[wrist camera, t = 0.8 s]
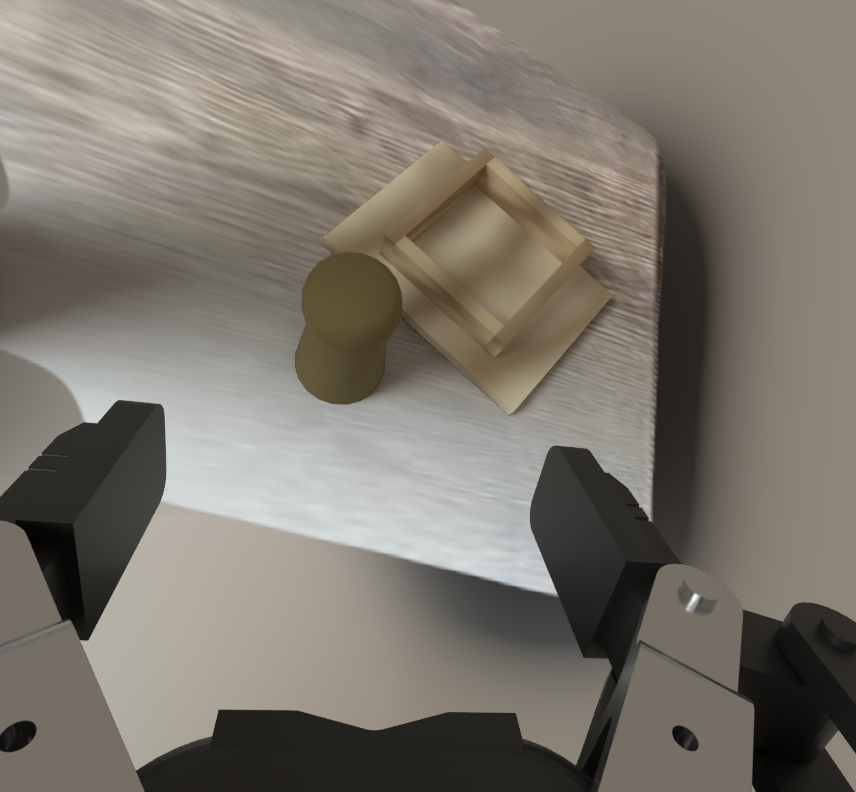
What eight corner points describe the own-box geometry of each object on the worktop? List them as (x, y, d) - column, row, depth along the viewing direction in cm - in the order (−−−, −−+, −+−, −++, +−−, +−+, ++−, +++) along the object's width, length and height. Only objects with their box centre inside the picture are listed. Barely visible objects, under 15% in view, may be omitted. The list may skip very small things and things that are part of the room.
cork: (377, 412, 37) (407, 356, 27) (286, 395, 36) (280, 330, 25) (390, 330, 39) (423, 248, 28) (304, 312, 38) (305, 219, 27)
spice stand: (322, 244, 39) (324, 216, 36) (438, 149, 44) (449, 116, 41) (508, 415, 39) (527, 402, 36) (606, 301, 43) (631, 280, 40)
